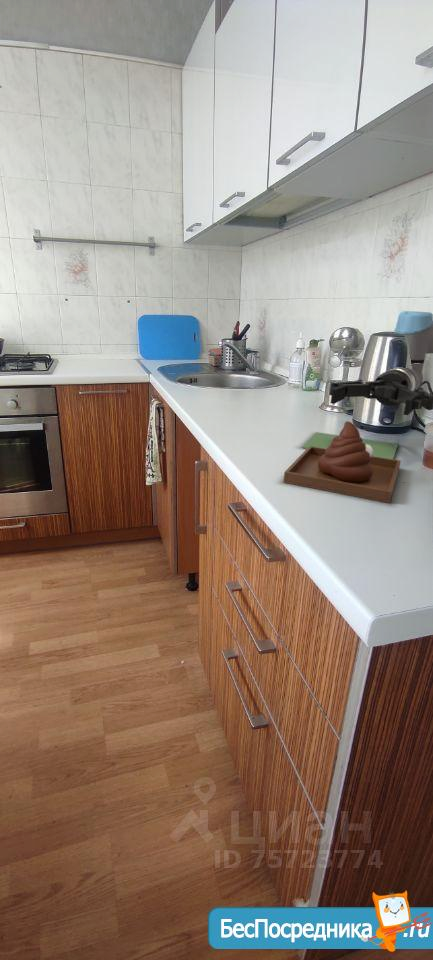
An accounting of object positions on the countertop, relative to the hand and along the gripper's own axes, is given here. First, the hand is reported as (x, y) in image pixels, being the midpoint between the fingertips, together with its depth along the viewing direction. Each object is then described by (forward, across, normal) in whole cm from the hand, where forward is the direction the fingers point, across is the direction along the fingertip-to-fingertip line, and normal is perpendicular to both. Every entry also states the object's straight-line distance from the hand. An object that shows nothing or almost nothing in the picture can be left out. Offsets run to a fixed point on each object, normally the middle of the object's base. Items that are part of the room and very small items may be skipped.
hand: (368, 401), depth 86 cm
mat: (-9, +4, -12) cm, 15 cm away
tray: (+10, 0, -12) cm, 15 cm away
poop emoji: (+10, 0, -12) cm, 15 cm away
